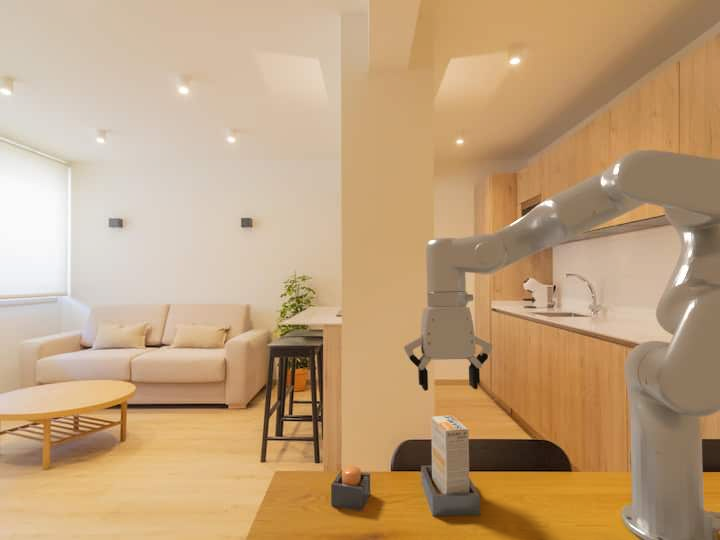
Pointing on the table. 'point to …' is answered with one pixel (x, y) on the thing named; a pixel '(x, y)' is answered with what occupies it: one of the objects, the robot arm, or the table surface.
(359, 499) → the button housing
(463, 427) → the supplement box
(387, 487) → the table surface
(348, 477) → the button
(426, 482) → the tray
